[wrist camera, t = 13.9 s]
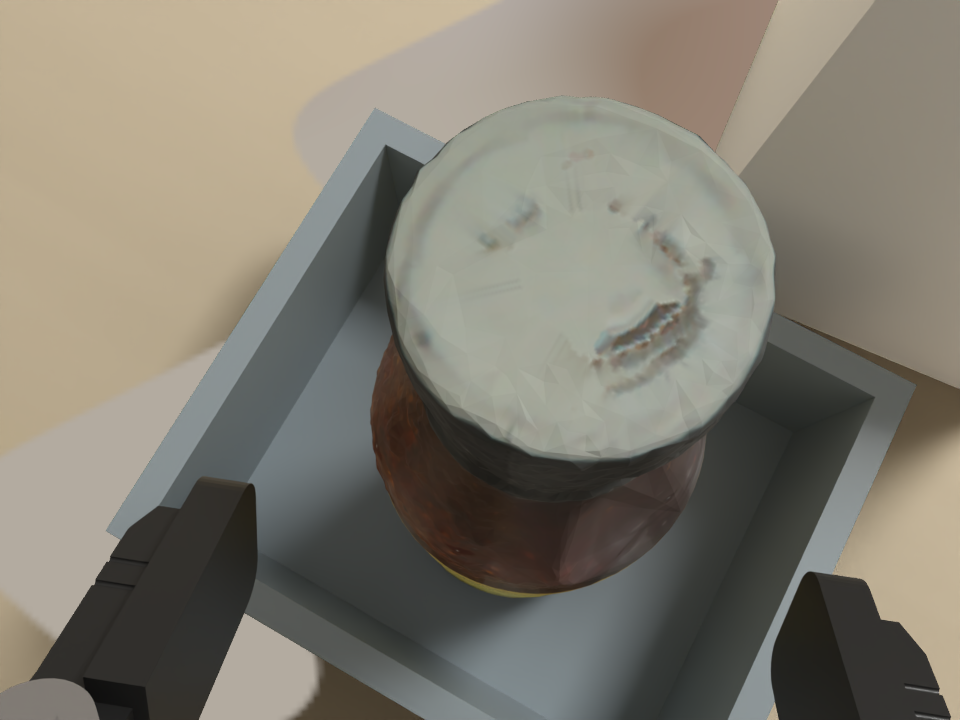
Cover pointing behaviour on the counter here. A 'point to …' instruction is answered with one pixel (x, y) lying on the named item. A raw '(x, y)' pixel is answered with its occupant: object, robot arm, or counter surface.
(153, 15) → the counter surface
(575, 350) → the sauce bottle
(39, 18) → the counter surface
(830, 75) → the milk
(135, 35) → the counter surface
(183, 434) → the tote
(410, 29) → the counter surface
